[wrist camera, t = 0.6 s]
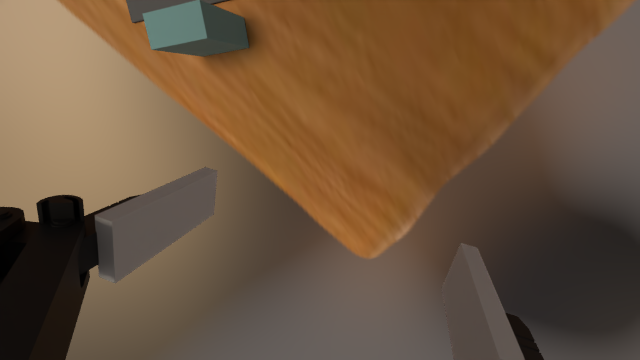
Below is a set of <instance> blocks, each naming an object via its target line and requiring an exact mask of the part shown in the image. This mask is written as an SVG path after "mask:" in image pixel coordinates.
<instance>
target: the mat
mask: <svg viewBox="0 0 640 360" xmlns="http://www.w3.org/2000/svg"><path fill="white" fill-rule="evenodd" d="M126 1H127V5H128V9H129V13H130V17H131V20H132V23H137V22H141V21H144V18H143V13H147V12H151V11H155V10H159V9H164V8H168V7H172V6H176V5H180V4H184V3H188V2H192V1H196V0H126ZM202 1H204V2H206V3H209V4H211V5H212V4H216V3H220V2H224V1H228V0H202Z"/></svg>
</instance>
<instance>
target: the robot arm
mask: <svg viewBox="0 0 640 360" xmlns="http://www.w3.org/2000/svg"><path fill="white" fill-rule="evenodd" d="M216 181H217V170H213V169H210V168H206V167H204V168H202V169H200V170H198V171H195V172H193V173H191V174H188V175H186V176H184V177H182V178H179V179H177V180H175V181H172V182H170V183H168V184H166V185H163V186H161V187H158V188H156V189H154V190H152V191H149V192H147V193H145V194H142V195H138V196H132V197H129V198H126V199H124V200H121V201H119V203H114V204H112V205H111V206H107V207H105V208H103V209H100V210H98V211H95V212H93V213H91V214H88V215H86V216H84V209H83V200H82V199H81V198H80V197H77V196H72V195H58V196H52V197H48V198H45V199H42V200H40V201H39V202H38V203H37V211H38V218H39V222H30V221H25V217H24V212H23V210H21V209H19V208H14V207H0V360H65V359H66V356H67V352H68V349H69V345H70V342H71V339H72V335H73V332H74V328H75V325H76V322H77V318H78V315H79V312H80V309H81V305H82V302H83V298H84V295H85V291H86V288H87V285H88V282H89V278H90V274H89V270H90V269H91V268H93V267H94V266H96V265H98V266H99V267H98V268H99V277H101V278H103V279H106V280H108V281H111V282H113V283H117V282H118V281H119V280H121V279H122V278H124V277H125V276H126V275H128V274H129V273H131V272H132V271H134V270H135V269H136V268H138V267H139V266H141V265H142V264H144V263H145V262H146V261H148V260H149V259H151V258H152V257H154V256H155V255H156V254H158V253H159V252H161V251H162V250H164V249H165V248H166V247H168V246H169V245H171V244H172V243H173V242H175V241H176V240H178V239H179V238H181V237H182V236H184V235H185V234H186V233H188V232H189V231H191V230H192V229H193V228H195V227H196V226H198V225H199V224H201V223H202V222H204V221H205V220H206V219H208V218H209V217H211V216H212V215H214V206H215V193H216ZM442 294H443V300H444V306H445V311H446V317H447V323H448V328H449V335H450V340H451V346H452V352H453V358H454V360H544V359H543V357H542V355H541V353H539V349H538V347H537V345H536V343H534V339H533V337H532V334H531V332H530V331H529V329H528V328H527V326H526V325H525V324H524V323H523V322H522V321H521V320H520V319H519V317H517V316H514V315H511V314H508V313H505V312H504V309H503V307H502V305H501V302H500V300H499V298H498V295H497V293H496V291H495V288H494V286H493V283H492V281H491V279H490V276H489V274H488V272H487V269H486V267H485V265H484V262H483V260H482V258H481V255H480V253H479V250H478V248H476V247H473V246H470V245H466V244H463V243H461V244H460V246H459V248H458V250H457V253H456V255H455V258H454V260H453V263H452V265H451V267H450V270H449V272H448V274H447V277H446V279H445V281H444V284H443V286H442Z"/></svg>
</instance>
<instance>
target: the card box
mask: <svg viewBox="0 0 640 360" xmlns="http://www.w3.org/2000/svg"><path fill="white" fill-rule="evenodd" d="M143 18H144V22H145V26H146V30H147V34H148V38H149V42H150V46H151V50H158V51H166V52H173V53H181V54H188V55H195V56H208V55H213V54H218V53H224V52H229V51H235V50H240V49H245V48H249V44H248V38H247V32H246V27H245V21H244V18H243V17H241V16H238V15H236V14H233V13H231V12H229V11H226V10H224V9H221V8H219V7H216V6H214V5H211V4H209V3H206V2H204V1H202V0H196V1H192V2H188V3H184V4H180V5H176V6H172V7H168V8H164V9H159V10H155V11H151V12H147V13H143Z"/></svg>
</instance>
